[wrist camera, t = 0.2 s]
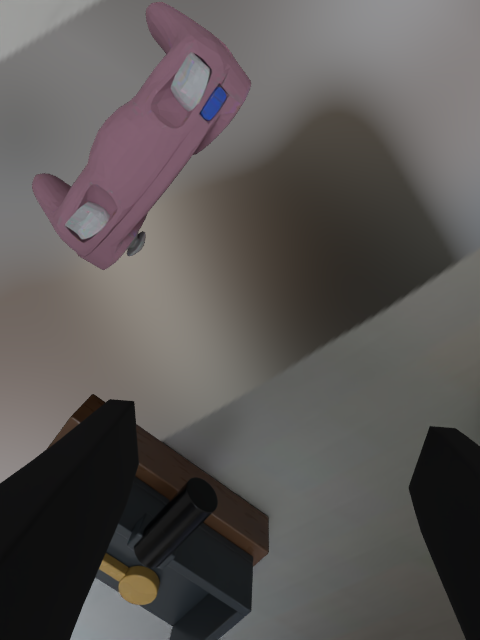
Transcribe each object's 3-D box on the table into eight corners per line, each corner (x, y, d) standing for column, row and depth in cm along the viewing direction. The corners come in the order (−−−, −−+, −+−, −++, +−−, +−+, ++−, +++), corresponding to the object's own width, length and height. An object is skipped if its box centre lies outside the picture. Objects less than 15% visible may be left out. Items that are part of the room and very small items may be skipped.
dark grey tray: (180, 623, 22) (161, 713, 18) (9, 514, 21) (-53, 586, 17) (305, 510, 19) (315, 588, 15) (115, 373, 18) (71, 420, 14)
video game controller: (114, 240, 20) (114, 307, 14) (29, 184, 17) (-10, 239, 12) (235, 84, 17) (292, 92, 12) (157, -8, 15) (183, -53, 9)
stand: (196, 585, 25) (188, 625, 22) (30, 476, 23) (3, 507, 21) (269, 516, 23) (269, 553, 20) (93, 392, 21) (71, 416, 19)
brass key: (168, 578, 21) (165, 589, 20) (146, 600, 21) (142, 611, 21) (84, 523, 20) (79, 533, 19) (63, 548, 20) (58, 558, 20)
